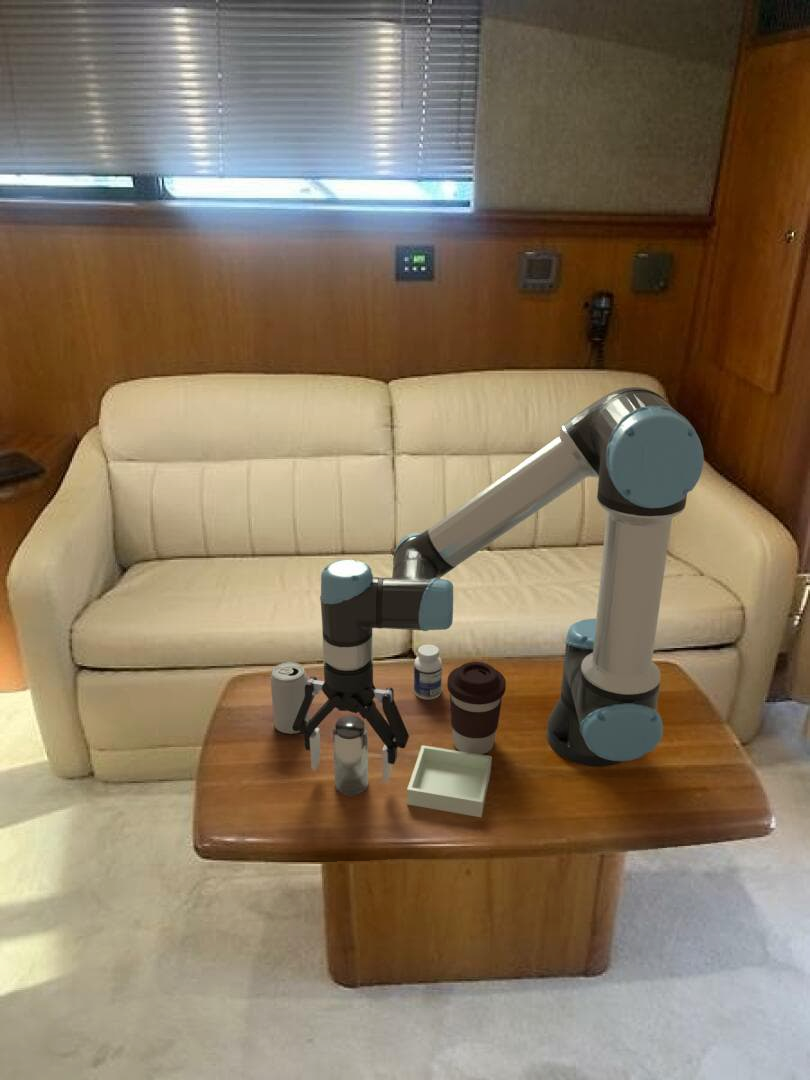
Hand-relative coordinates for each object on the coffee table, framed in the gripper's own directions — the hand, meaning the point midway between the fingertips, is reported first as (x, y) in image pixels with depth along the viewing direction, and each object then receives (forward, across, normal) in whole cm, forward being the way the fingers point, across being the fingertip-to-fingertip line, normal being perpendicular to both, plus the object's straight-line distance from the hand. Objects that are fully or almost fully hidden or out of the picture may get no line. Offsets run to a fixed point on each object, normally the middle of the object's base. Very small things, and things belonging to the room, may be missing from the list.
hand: (351, 770), depth 129 cm
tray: (+3, -16, -3) cm, 16 cm away
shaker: (+3, 0, 0) cm, 3 cm away
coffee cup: (+3, -18, -15) cm, 24 cm away
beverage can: (+3, +15, -12) cm, 19 cm away
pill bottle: (+3, -7, -28) cm, 29 cm away
